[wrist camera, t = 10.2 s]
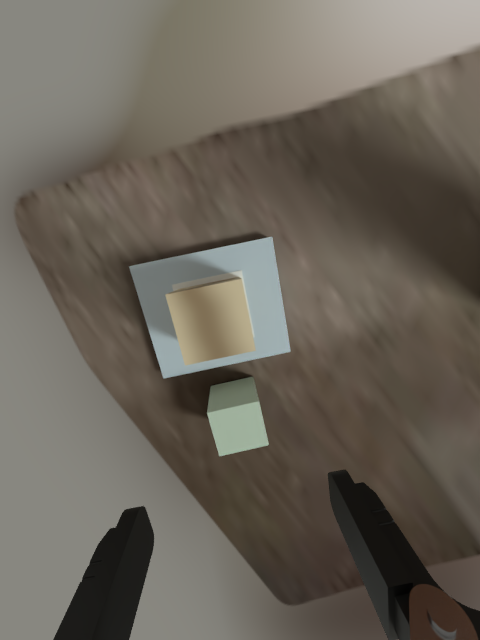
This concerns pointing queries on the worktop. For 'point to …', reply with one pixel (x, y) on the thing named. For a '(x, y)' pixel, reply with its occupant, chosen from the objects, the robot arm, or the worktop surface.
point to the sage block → (236, 416)
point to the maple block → (211, 320)
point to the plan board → (204, 267)
